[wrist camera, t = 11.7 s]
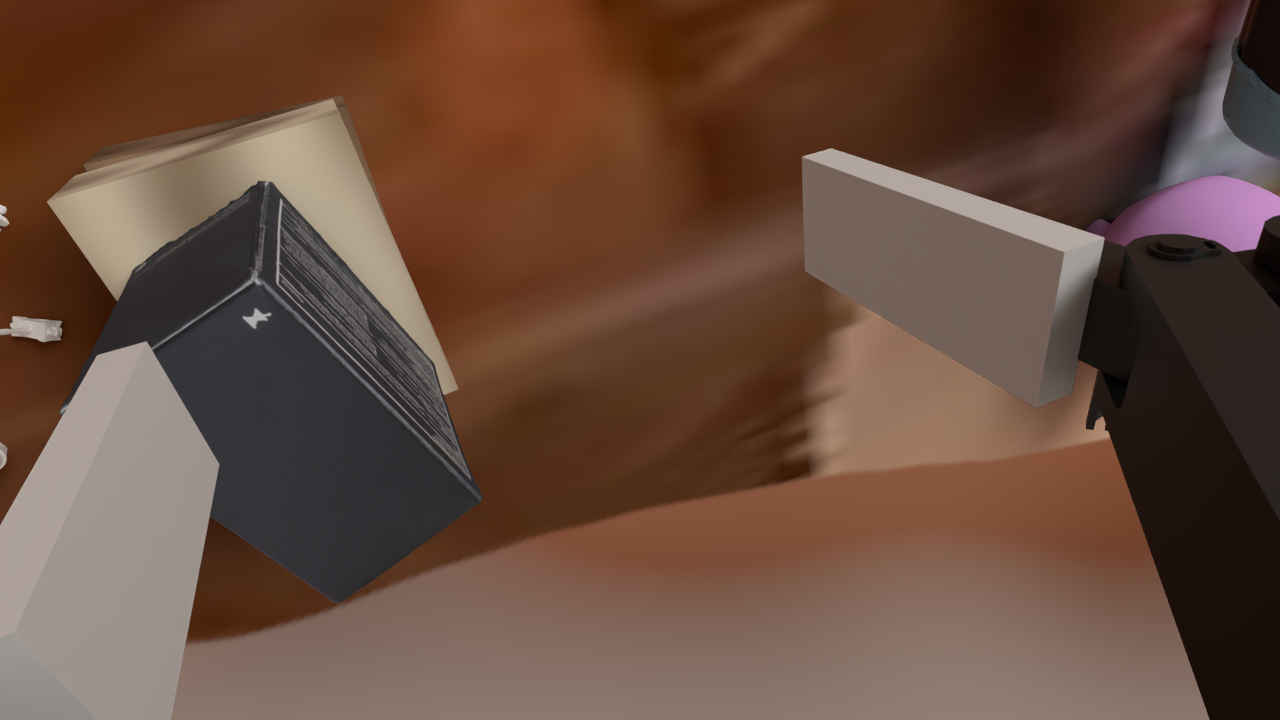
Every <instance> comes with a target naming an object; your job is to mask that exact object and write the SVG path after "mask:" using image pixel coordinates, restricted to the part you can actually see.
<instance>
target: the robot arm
mask: <svg viewBox="0 0 1280 720" xmlns="http://www.w3.org/2000/svg"><path fill="white" fill-rule="evenodd" d="M1232 59H1233V65H1232V69H1231V73H1230V77H1229V81H1228V85H1227V88H1226V92H1225V96H1224V100H1223V116H1224V120H1225V121H1226V123H1227V125H1228V126H1229V128H1230V129H1231V130H1232V132H1233V133H1234V135H1235V136H1236V137H1237V138H1238V139H1239V140H1241V141H1242V142H1243V143H1245V144H1247V145H1248V146H1250V147H1251V148H1253V149H1255V150H1257V151H1259V152H1261V153H1263V154H1265V155H1267V156H1270V157H1272V158H1275V159H1277V160H1280V0H1251V1H1250V4H1249V8H1248V11H1247V14H1246V17H1245V20H1244V23H1243V27H1242V30H1241V33H1240V35H1239V36H1238V37H1237V38H1236V39H1235V40H1234V44H1233V47H1232ZM802 183H803V221H804V260H805V272H807V273H809V274H811V275H812V276H814V277H816V278H817V279H819V280H821V281H822V282H824V283H826V284H827V285H829V286H831V287H832V288H834V289H836V290H837V291H839V292H841V293H843V294H844V295H846V296H848V297H849V298H851V299H853V300H854V301H856V302H858V303H859V304H861V305H863V306H864V307H866V308H868V309H870V310H871V311H873V312H875V313H876V314H878V315H880V316H881V317H883V318H885V319H886V320H888V321H890V322H891V323H893V324H895V325H897V326H898V327H900V328H902V329H903V330H905V331H907V332H908V333H910V334H912V335H913V336H915V337H917V338H918V339H920V340H922V341H924V342H925V343H927V344H929V345H930V346H932V347H934V348H935V349H937V350H939V351H940V352H942V353H944V354H945V355H947V356H949V357H951V358H952V359H954V360H956V361H957V362H959V363H961V364H962V365H964V366H966V367H967V368H969V369H971V370H972V371H974V372H976V373H978V374H979V375H981V376H983V377H984V378H986V379H988V380H989V381H991V382H993V383H994V384H996V385H998V386H999V387H1001V388H1003V389H1004V390H1006V391H1008V392H1010V393H1011V394H1013V395H1015V396H1016V397H1018V398H1020V399H1021V400H1023V401H1025V402H1026V403H1028V404H1030V405H1031V406H1033V407H1035V408H1038V407H1041V406H1043V405H1045V404H1048V403H1050V402H1052V401H1055V400H1057V399H1059V398H1062V397H1064V396H1066V395H1069V394H1071V393H1072V391H1073V387H1074V382H1075V377H1076V372H1077V368H1078V363H1079V360H1080V361H1082V362H1084V363H1086V364H1088V365H1090V366H1093V367H1095V368H1097V369H1098V372H1097V376H1096V381H1095V385H1094V390H1093V394H1092V398H1091V403H1090V407H1089V411H1088V416H1087V420H1086V429H1090V430H1094V426H1095V422H1096V420H1098V419H1099V418H1101V417H1102V416H1103V417H1104V420H1105V423H1106V426H1105V430H1106V431H1108V432H1109V434H1110V437H1111V440H1112V443H1113V446H1114V448H1115V451H1116V454H1117V457H1118V460H1119V463H1120V465H1121V468H1122V471H1123V474H1124V477H1125V480H1126V483H1127V486H1128V488H1129V491H1130V494H1131V497H1132V500H1133V503H1134V505H1135V508H1136V511H1137V514H1138V517H1139V520H1140V523H1141V525H1142V528H1143V531H1144V534H1145V536H1146V540H1147V542H1148V545H1149V548H1150V551H1151V554H1152V557H1153V559H1154V562H1155V565H1156V568H1157V571H1158V574H1159V577H1160V579H1161V582H1162V585H1163V588H1164V591H1165V594H1166V596H1167V599H1168V602H1169V605H1170V608H1171V611H1172V614H1173V616H1174V619H1175V622H1176V625H1177V628H1178V631H1179V633H1180V636H1181V639H1182V642H1183V645H1184V647H1185V651H1186V653H1187V656H1188V659H1189V662H1190V665H1191V667H1192V670H1193V673H1194V676H1195V679H1196V682H1197V685H1198V687H1199V690H1200V693H1201V696H1202V699H1203V702H1204V705H1205V707H1206V710H1207V713H1208V716H1209V719H1210V720H1280V215H1278V216H1273V217H1272V218H1270V219H1268V220H1266V221H1265V223H1264V226H1263V229H1262V232H1261V235H1260V238H1259V241H1258V244H1257V247H1256V249H1250V250H1244V251H1237V252H1232V251H1231V250H1229V249H1228V248H1226V247H1225V246H1223V245H1222V244H1220V243H1218V242H1216V241H1214V240H1208V239H1206V238H1200V237H1195V236H1191V235H1185V234H1157V235H1147V236H1143V237H1140V238H1136V239H1134V240H1132V241H1131V242H1130V243H1128V244H1127V245H1126V246H1122V245H1119V244H1116V243H1113V242H1110V241H1107V240H1104V239H1105V238H1104V237H1101V236H1098V235H1095V234H1092V233H1089V232H1086V231H1083V230H1080V229H1077V228H1074V227H1071V226H1067V225H1064V224H1061V223H1058V222H1055V221H1052V220H1049V219H1046V218H1043V217H1040V216H1037V215H1034V214H1031V213H1028V212H1025V211H1022V210H1018V209H1015V208H1012V207H1009V206H1006V205H1003V204H1000V203H997V202H994V201H991V200H988V199H985V198H982V197H979V196H976V195H973V194H969V193H966V192H963V191H960V190H957V189H954V188H951V187H948V186H945V185H942V184H939V183H936V182H933V181H930V180H927V179H924V178H920V177H917V176H914V175H911V174H908V173H905V172H902V171H899V170H896V169H893V168H890V167H887V166H884V165H881V164H878V163H875V162H871V161H868V160H865V159H862V158H859V157H856V156H853V155H850V154H847V153H844V152H841V151H838V150H835V149H832V148H831V149H828V150H824V151H821V152H817V153H813V154H810V155H806V156H803V157H802ZM218 469H219V463H218V461H217V459H216V458H215V456H214V454H213V453H212V451H211V449H210V448H209V446H208V444H207V442H206V441H205V439H204V437H203V436H202V434H201V432H200V431H199V429H198V427H197V426H196V424H195V422H194V420H193V419H192V417H191V415H190V414H189V412H188V410H187V409H186V407H185V405H184V404H183V402H182V400H181V398H180V397H179V395H178V393H177V392H176V390H175V388H174V387H173V385H172V383H171V382H170V380H169V378H168V377H167V375H166V373H165V371H164V370H163V368H162V366H161V365H160V363H159V361H158V360H157V358H156V356H155V355H154V353H153V351H152V349H151V348H150V346H149V344H148V343H147V341H146V342H142V343H139V344H135V345H132V346H128V347H125V348H121V349H118V350H114V351H110V352H107V353H103V354H100V355H97V356H96V358H95V360H94V362H93V363H92V365H91V367H90V369H89V370H88V372H87V374H86V376H85V377H84V379H83V381H82V383H81V384H80V386H79V388H78V390H77V392H76V393H75V395H74V397H73V399H72V400H71V402H70V404H69V406H68V407H67V409H66V411H65V413H64V414H63V416H62V418H61V420H60V421H59V423H58V425H57V427H56V428H55V430H54V432H53V434H52V435H51V437H50V439H49V441H48V442H47V444H46V446H45V448H44V449H43V451H42V453H41V455H40V457H39V458H38V460H37V462H36V464H35V465H34V467H33V469H32V471H31V472H30V474H29V476H28V478H27V479H26V481H25V483H24V485H23V486H22V488H21V490H20V492H19V493H18V495H17V497H16V499H15V500H14V502H13V504H12V506H11V507H10V509H9V511H8V513H7V514H6V516H5V518H4V520H3V522H2V523H1V525H0V720H171V716H172V712H173V707H174V701H175V696H176V690H177V686H178V680H179V675H180V670H181V664H182V659H183V654H184V649H185V643H186V638H187V633H188V627H189V622H190V617H191V612H192V606H193V601H194V596H195V591H196V585H197V580H198V575H199V569H200V564H201V559H202V554H203V548H204V543H205V538H206V533H207V527H208V522H209V517H210V511H211V506H212V501H213V496H214V490H215V485H216V480H217V474H218Z"/></svg>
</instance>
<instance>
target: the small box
mask: <svg viewBox="0 0 1280 720" xmlns="http://www.w3.org/2000/svg"><path fill="white" fill-rule="evenodd" d="M146 341H147V343H148V344H149V346H150V348H151V349H152V351H153V353H154V355H155V356H156V358H157V360H158V361H159V363H160V365H161V366H162V368H163V370H164V371H165V373H166V375H167V377H168V378H169V380H170V382H171V383H172V385H173V387H174V388H175V390H176V392H177V393H178V395H179V397H180V398H181V400H182V402H183V404H184V405H185V407H186V409H187V410H188V412H189V414H190V415H191V417H192V419H193V420H194V422H195V424H196V426H197V427H198V429H199V431H200V432H201V434H202V436H203V437H204V439H205V441H206V442H207V444H208V446H209V448H210V449H211V451H212V453H213V454H214V456H215V458H216V459H217V461H218V463H219V469H218V474H217V480H216V485H215V490H214V496H213V501H212V506H211V511H210V517H212V518H213V519H215V520H216V521H218V522H219V523H221V524H222V525H224V526H225V527H226V528H228V529H229V530H231V531H232V532H234V533H235V534H236V535H238V536H239V537H241V538H242V539H244V540H245V541H247V542H248V543H249V544H251V545H252V546H254V547H255V548H257V549H258V550H260V551H261V552H263V553H264V554H265V555H267V556H268V557H270V558H271V559H273V560H274V561H276V562H277V563H279V564H280V565H281V566H283V567H284V568H286V569H287V570H289V571H290V572H292V573H293V574H294V575H296V576H297V577H299V578H300V579H302V580H303V581H304V582H306V583H307V584H309V585H310V586H312V587H313V588H315V589H316V590H317V591H319V592H320V593H322V594H323V595H324V596H326V597H327V598H329V599H330V600H332V601H333V602H335V603H339V602H342V601H343V600H345V599H346V598H348V597H349V596H351V595H352V594H354V593H355V592H357V591H358V590H360V589H361V588H363V587H364V586H366V585H367V584H368V583H370V582H371V581H372V580H374V579H375V578H377V577H378V576H380V575H381V574H382V573H384V572H385V571H386V570H388V569H389V568H391V567H392V566H393V565H394V564H396V563H397V562H399V561H400V560H401V559H403V558H405V557H406V556H407V555H409V554H410V553H411V552H413V551H414V550H415V549H416V548H418V547H419V546H421V545H422V544H424V543H425V542H426V541H428V540H429V539H430V538H432V537H433V536H434V535H436V534H437V533H439V532H440V531H442V530H443V529H444V528H446V527H447V526H448V525H450V524H451V523H452V522H454V521H455V520H456V519H458V518H459V517H460V516H462V515H463V514H465V513H466V512H467V511H469V510H470V509H472V508H473V507H474V506H476V505H477V504H479V503H480V502H481V501H482V496H481V493H480V490H479V488H478V486H477V484H476V482H475V481H474V478H473V475H472V473H471V471H470V469H469V467H468V464H467V461H466V459H465V457H464V453H463V451H462V449H461V445H460V443H459V439H458V435H457V433H456V431H455V428H454V424H453V421H452V419H451V416H450V413H449V410H448V407H447V404H446V401H445V398H444V395H443V392H442V389H441V385H440V382H439V379H438V375H437V372H436V367H435V364H434V363H433V361H432V360H431V359H430V358H429V357H428V356H427V355H426V354H425V353H424V351H423V350H422V349H421V348H420V347H419V346H418V344H417V343H416V342H415V341H414V340H413V339H412V338H411V337H410V336H409V334H408V333H407V332H406V331H405V330H404V329H403V328H402V327H401V325H400V324H399V323H398V322H397V321H396V320H395V319H394V317H393V316H392V315H391V314H390V312H389V311H388V310H387V309H386V308H385V307H383V305H382V304H381V303H380V302H379V301H378V300H377V298H376V297H375V296H374V295H373V294H372V293H371V292H370V291H369V290H368V289H367V287H366V286H365V285H364V284H363V283H362V282H361V281H360V280H359V278H358V277H357V276H356V275H355V274H354V273H353V272H352V270H351V269H350V268H349V267H348V265H347V263H345V262H344V261H343V260H342V259H341V258H340V257H339V256H338V255H337V253H336V252H335V251H334V250H333V249H332V248H331V247H330V246H329V245H328V243H327V242H326V241H325V240H324V239H323V238H322V237H321V235H320V234H319V233H318V232H317V231H316V230H315V229H314V228H313V227H312V226H311V224H310V223H309V222H308V221H307V220H306V219H305V218H304V217H303V216H302V215H301V214H300V213H299V212H298V210H297V209H296V208H295V207H294V206H293V205H292V204H291V203H290V202H289V201H288V200H287V199H286V197H285V196H284V195H283V194H282V193H281V192H280V191H279V190H278V189H277V187H276V186H275V185H274V183H273V182H269V181H258V182H257V184H256V185H253V186H251V187H250V188H248V190H246V191H245V192H244V194H243V195H242V196H241V197H240V198H238V199H236V200H232V201H230V202H229V204H228V205H227V206H226V207H224V208H222V209H220V210H219V211H218V212H216V214H215V215H213V216H209V217H208V219H207V220H205V221H204V222H201V223H200V224H199V225H198V226H196V227H194V228H191V229H189V230H188V232H186V233H185V234H184V235H182V236H180V237H179V238H178V239H177V240H175V241H170V242H167V243H166V244H165V245H164V246H162V247H160V248H159V249H158V250H157V251H156V252H154V253H153V254H152V255H151V256H150V257H148V258H147V259H146V260H145V261H144V262H143V263H141V264H140V265H138V266H137V267H135V268H134V269H133V270H132V273H131V276H130V278H129V279H128V281H127V283H126V285H125V288H124V290H123V292H122V294H121V296H120V298H119V300H118V301H117V303H116V305H115V307H114V309H113V311H112V313H111V315H110V317H109V319H108V321H107V323H106V325H105V326H104V329H103V330H102V332H101V335H100V337H99V338H98V340H97V342H96V344H95V346H94V348H93V349H92V351H91V354H90V356H89V358H88V359H87V361H86V363H85V365H84V367H83V368H82V370H81V373H80V375H79V377H78V379H77V381H76V383H75V385H74V387H73V389H72V391H71V392H70V394H69V396H68V398H67V400H66V401H65V402H64V404H63V405H62V408H61V411H60V413H61V414H62V416H63V414H64V413H65V411H66V409H67V407H68V406H69V404H70V402H71V400H72V399H73V397H74V395H75V393H76V392H77V390H78V388H79V386H80V384H81V383H82V381H83V379H84V377H85V376H86V374H87V372H88V370H89V369H90V367H91V365H92V363H93V362H94V360H95V358H96V356H97V355H100V354H103V353H107V352H110V351H114V350H118V349H121V348H125V347H128V346H132V345H135V344H139V343H142V342H146Z"/></svg>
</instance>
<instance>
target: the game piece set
mask: <svg viewBox="0 0 1280 720" xmlns="http://www.w3.org/2000/svg"><path fill="white" fill-rule="evenodd" d="M6 211H7V209H6V207H4V206H2V205H0V225H1V226H8V225H9V222H8V220H7V219H6V218H5V217H3V216H2V215H1V214H3V215H4V214H5V213H6ZM0 231H1V229H0ZM30 314H31V313H30ZM12 321H13V323H10V327H11V328H13V329H0V335H4V334H5V335H8V334H11V336H18V337H21V336H23V337H28V338H34V339H38V340H39V341H41V342H47V341H53V340H61V339H60V336H61V335H62V328H60V326H61V323H62V321H54V320H46V319H36V318H35V319H28V318H27V317H20V316H13V317H12ZM6 460H7V448H6V446H5V445H3V444H2V443H1V442H0V469H1V468H2V467H3V466H4V465H5V463H6Z"/></svg>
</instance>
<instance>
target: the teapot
mask: <svg viewBox="0 0 1280 720" xmlns="http://www.w3.org/2000/svg"><path fill="white" fill-rule="evenodd" d="M1278 215H1280V197H1278V196H1276V195H1275V194H1273V193H1271V192H1269V191H1267V190H1265V189H1262V188H1260V187H1258V186H1256V185H1253V184H1250V183H1248V182H1245V181H1242V180H1238V179H1234V178H1230V177H1226V176H1208V177H1201V178H1197V179H1193V180H1189V181H1186V182H1182V183H1179V184H1176V185H1173V186H1170V187H1167V188H1165V189H1162V190H1160V191H1157V192H1155V193H1152V194H1150V195H1148V196H1146V197H1144V198H1142V199H1141V200H1139V201H1137V202H1135V203H1134V204H1132V205H1131V206H1129V207H1128V208H1127V209H1125V210H1124V211H1123V212H1122V213H1121V214H1119V215H1118V216H1117V217H1116V219H1115V220H1114V221H1113V222H1112V223H1111V224H1110V223H1108V222H1106V221H1105V220H1103V219H1099V220H1096V221H1094V222H1093V223H1092V224H1091V225H1090V226H1089V227H1088V228H1087V229H1086V232H1089V233H1092V234H1095V235H1098V236H1101V237H1104V238H1105V239H1104V240H1107V241H1110V242H1113V243H1116V244H1119V245H1122V246H1126V245H1127V244H1128V243H1130V242H1131V241H1132V240H1134V239H1136V238H1140V237H1143V236H1147V235H1157V234H1185V235H1191V236H1195V237H1200V238H1206V239H1208V240H1214V241H1216V242H1218V243H1220V244H1222V245H1223V246H1225V247H1226V248H1228V249H1229V250H1231V251H1232V252H1237V251H1244V250H1250V249H1256V247H1257V244H1258V241H1259V238H1260V235H1261V232H1262V229H1263V226H1264V223H1265V221H1266V220H1268V219H1270V218H1272V217H1273V216H1278Z"/></svg>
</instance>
